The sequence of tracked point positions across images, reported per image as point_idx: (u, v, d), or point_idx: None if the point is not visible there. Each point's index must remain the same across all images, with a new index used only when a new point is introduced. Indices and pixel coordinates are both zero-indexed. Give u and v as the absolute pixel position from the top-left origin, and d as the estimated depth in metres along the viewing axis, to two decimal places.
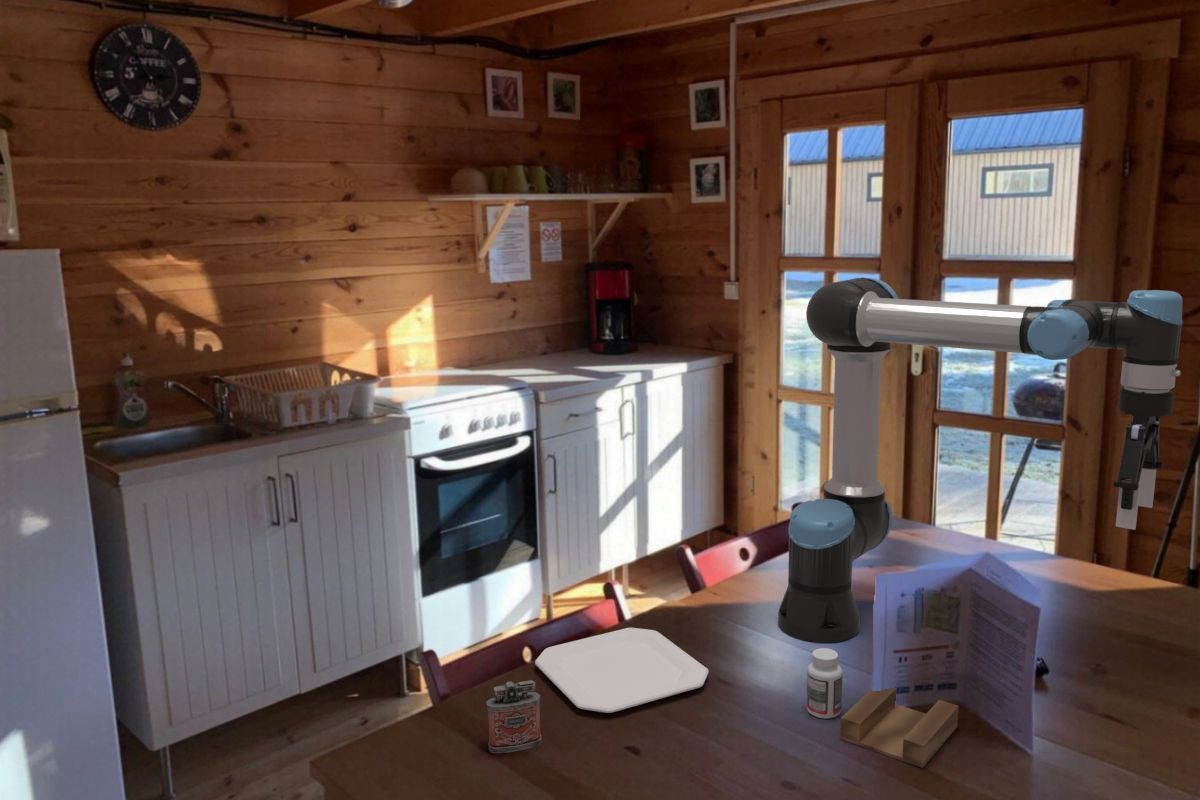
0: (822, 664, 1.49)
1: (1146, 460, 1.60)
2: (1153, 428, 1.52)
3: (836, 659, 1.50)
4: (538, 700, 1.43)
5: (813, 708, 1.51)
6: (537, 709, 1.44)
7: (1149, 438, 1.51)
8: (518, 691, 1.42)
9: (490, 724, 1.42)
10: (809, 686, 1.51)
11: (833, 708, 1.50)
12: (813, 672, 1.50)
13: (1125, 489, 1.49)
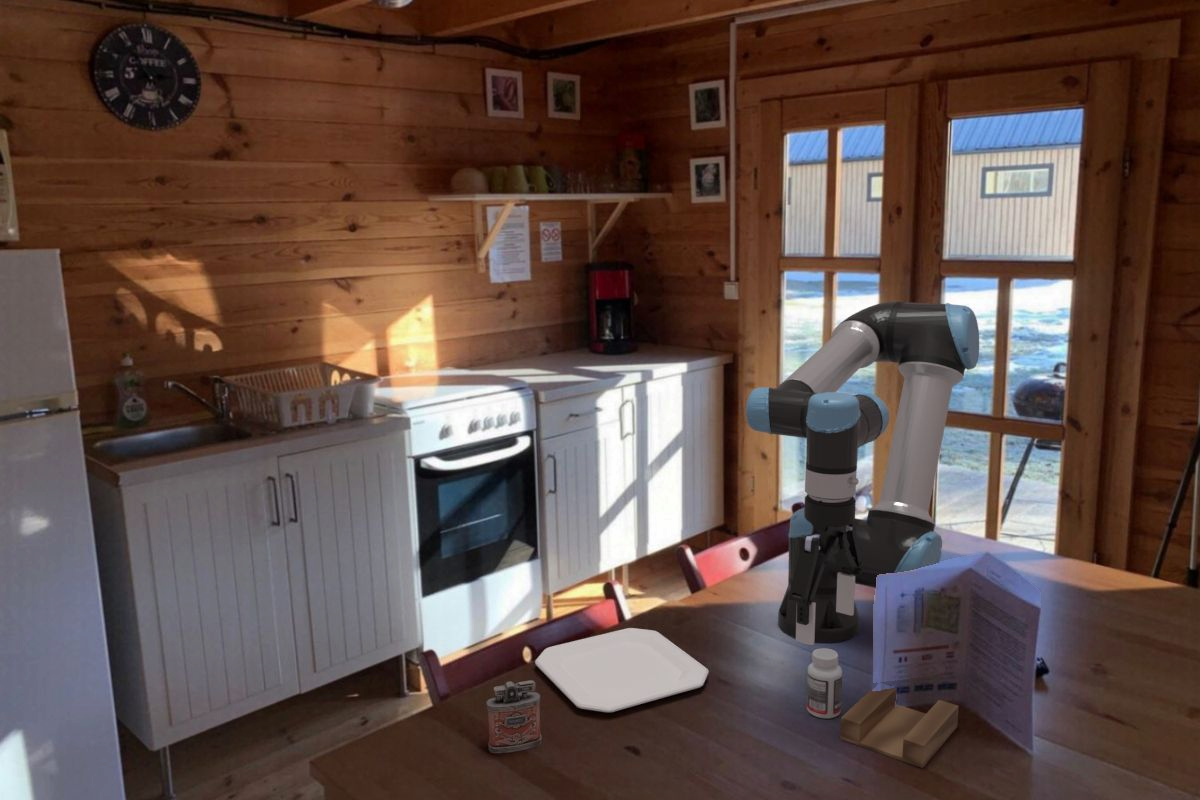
0: (822, 664, 1.49)
1: (844, 566, 1.53)
2: (834, 538, 1.45)
3: (836, 659, 1.50)
4: (538, 700, 1.43)
5: (813, 708, 1.51)
6: (537, 709, 1.44)
7: (828, 549, 1.44)
8: (518, 691, 1.42)
9: (490, 724, 1.42)
10: (809, 686, 1.51)
11: (833, 707, 1.50)
12: (813, 672, 1.50)
13: (799, 603, 1.42)
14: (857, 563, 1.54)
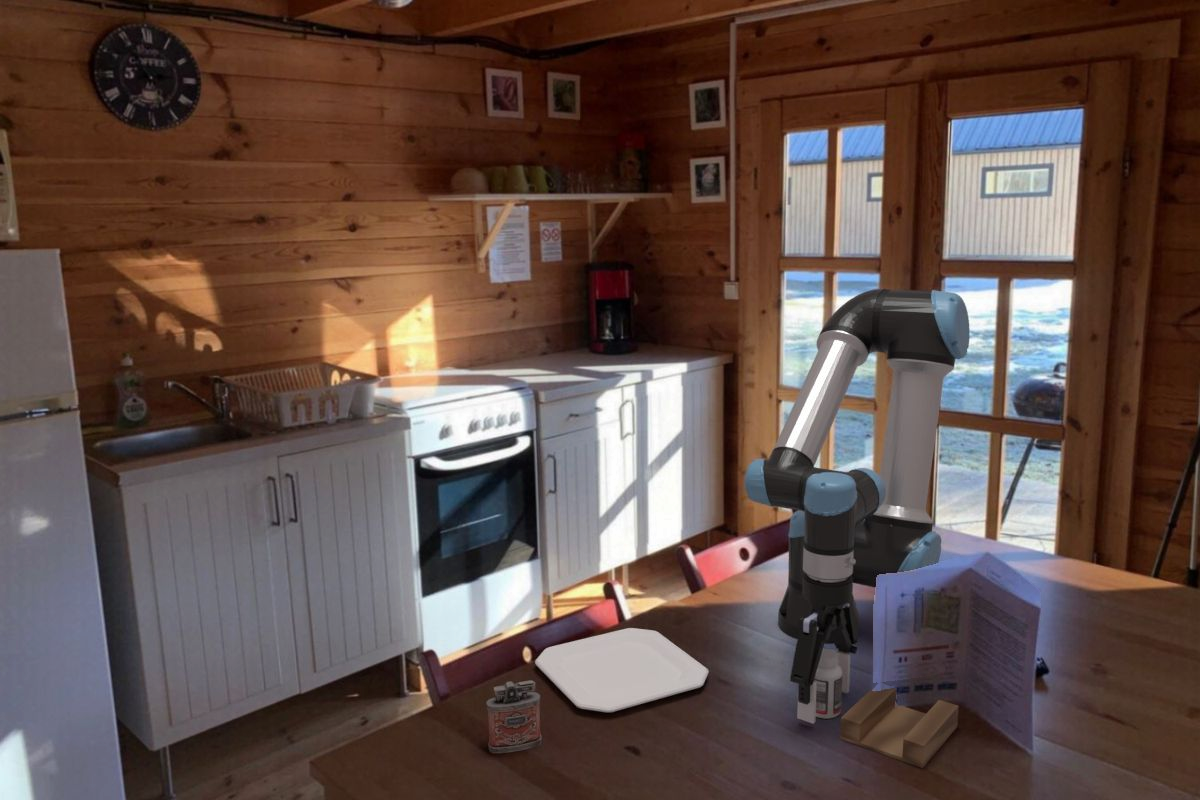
0: (822, 664, 1.49)
1: (840, 643, 1.55)
2: (831, 616, 1.47)
3: (836, 659, 1.50)
4: (538, 700, 1.43)
5: None
6: (537, 709, 1.44)
7: (827, 628, 1.47)
8: (518, 691, 1.42)
9: (490, 724, 1.42)
10: None
11: (834, 708, 1.50)
12: None
13: None
14: (852, 640, 1.56)
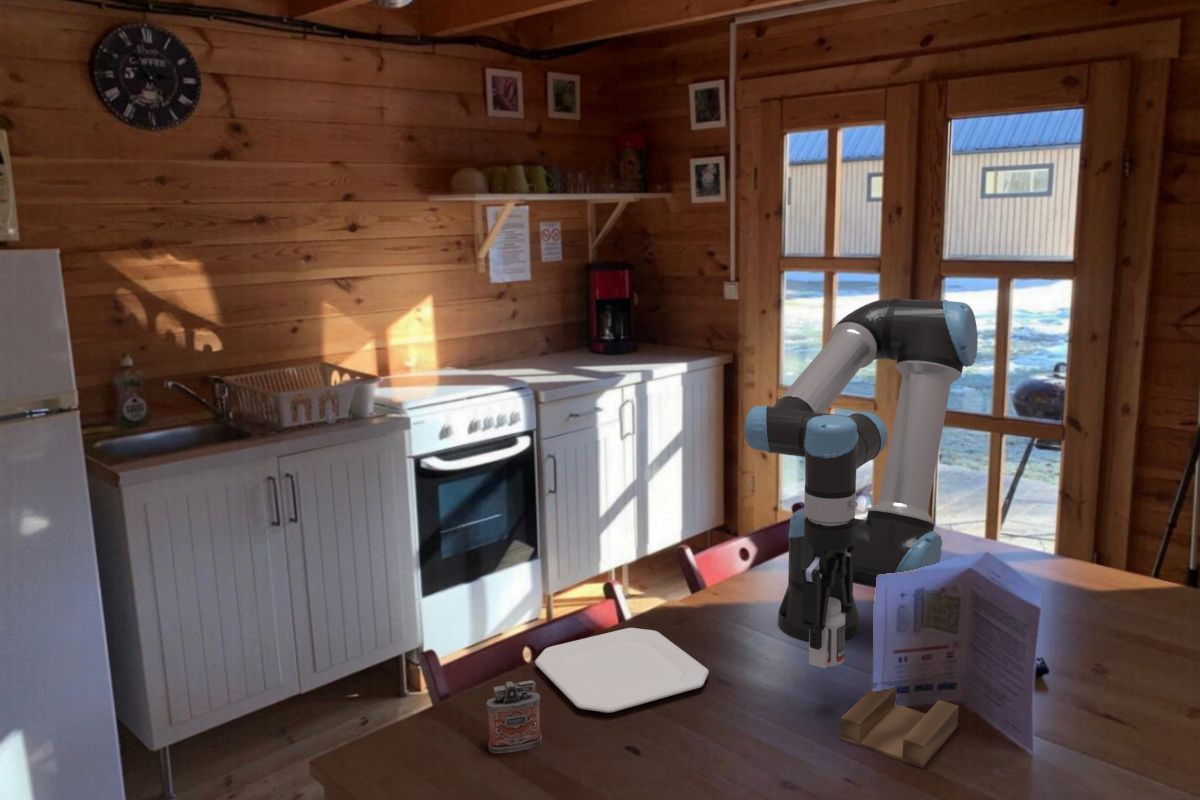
0: None
1: None
2: (833, 561, 1.45)
3: (839, 607, 1.48)
4: (538, 700, 1.43)
5: None
6: (537, 709, 1.44)
7: (830, 573, 1.45)
8: (518, 691, 1.42)
9: (490, 724, 1.42)
10: None
11: (837, 655, 1.49)
12: None
13: (812, 629, 1.47)
14: (848, 598, 1.53)
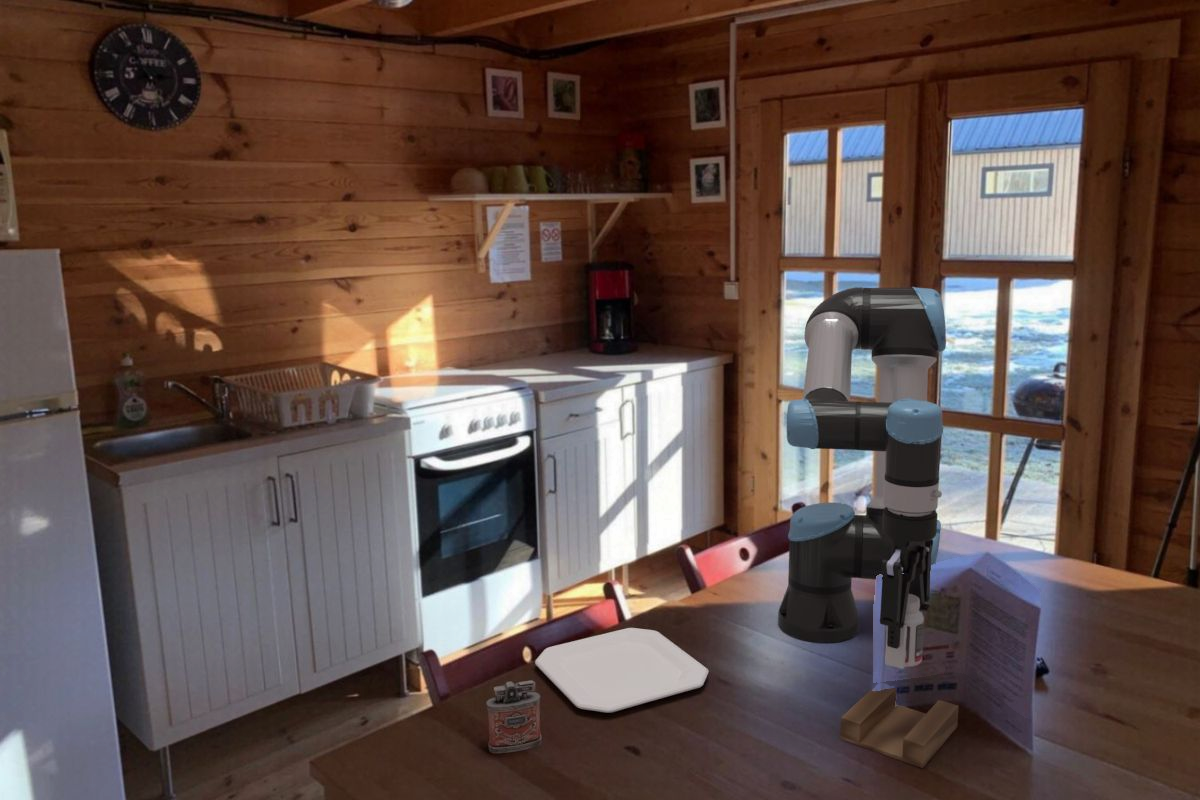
0: None
1: None
2: (914, 554, 1.38)
3: (918, 603, 1.40)
4: (538, 700, 1.43)
5: None
6: (537, 709, 1.44)
7: (911, 567, 1.38)
8: (518, 691, 1.42)
9: (490, 724, 1.42)
10: None
11: (915, 655, 1.41)
12: None
13: (890, 627, 1.39)
14: (924, 596, 1.45)
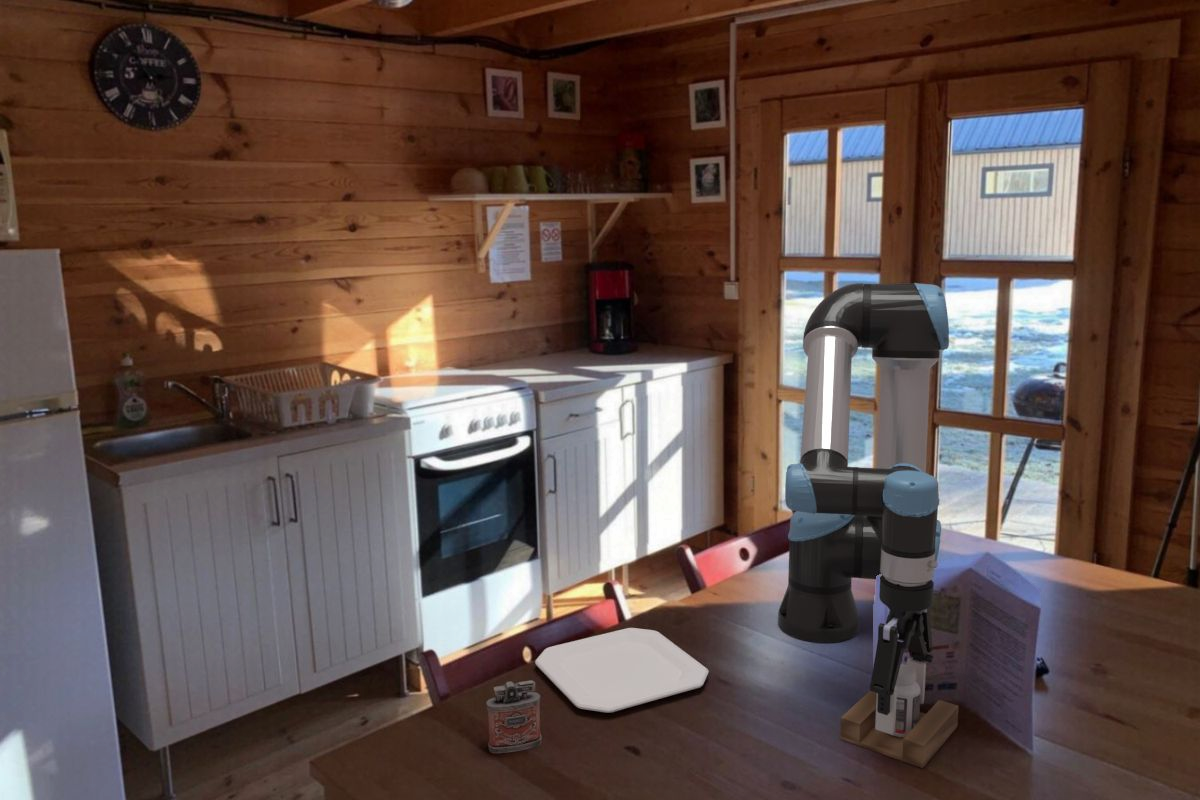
0: (900, 680, 1.43)
1: (915, 651, 1.48)
2: (911, 622, 1.40)
3: (914, 675, 1.43)
4: (538, 700, 1.43)
5: None
6: (537, 709, 1.44)
7: (907, 634, 1.40)
8: (518, 691, 1.42)
9: (490, 724, 1.42)
10: None
11: (912, 726, 1.43)
12: None
13: (880, 693, 1.39)
14: (927, 648, 1.49)
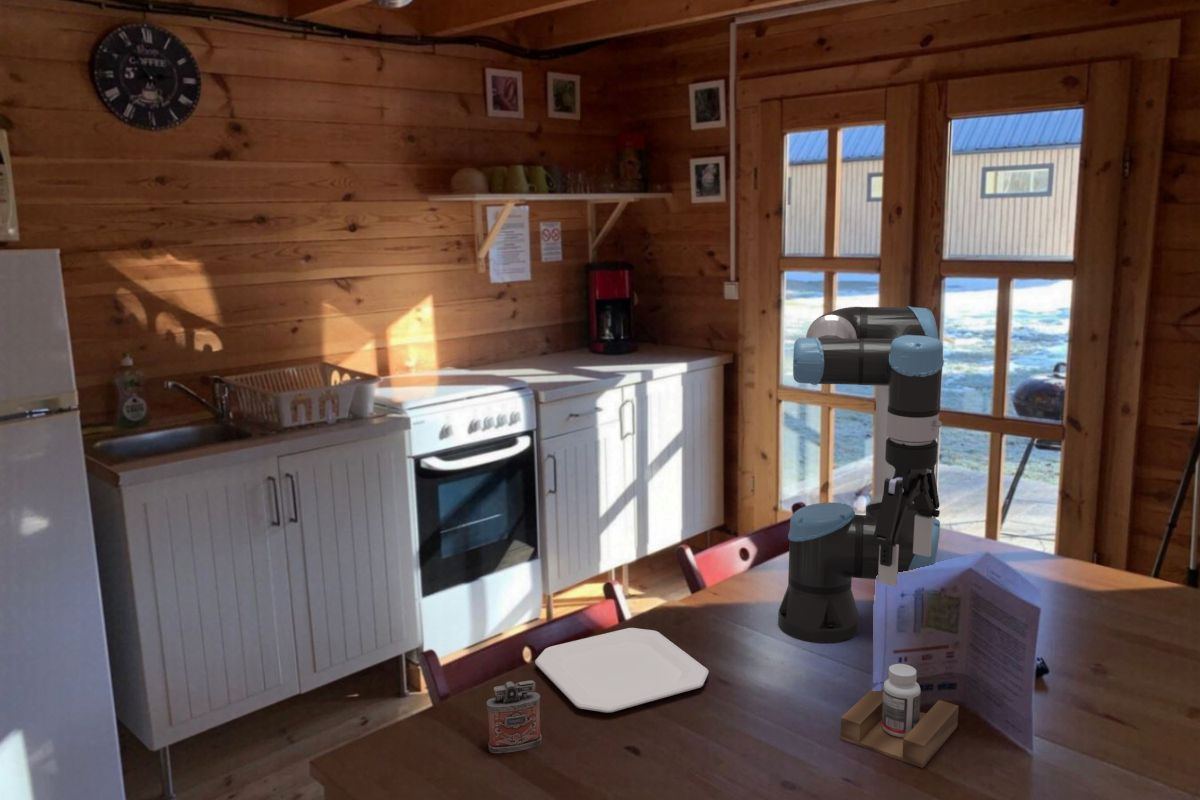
0: (901, 680, 1.42)
1: (922, 508, 1.54)
2: (916, 480, 1.45)
3: (915, 675, 1.43)
4: (538, 700, 1.43)
5: (891, 726, 1.44)
6: (537, 709, 1.44)
7: (911, 491, 1.45)
8: (518, 691, 1.42)
9: (490, 724, 1.42)
10: (886, 703, 1.44)
11: (912, 726, 1.43)
12: (891, 689, 1.43)
13: (883, 545, 1.44)
14: (934, 505, 1.55)
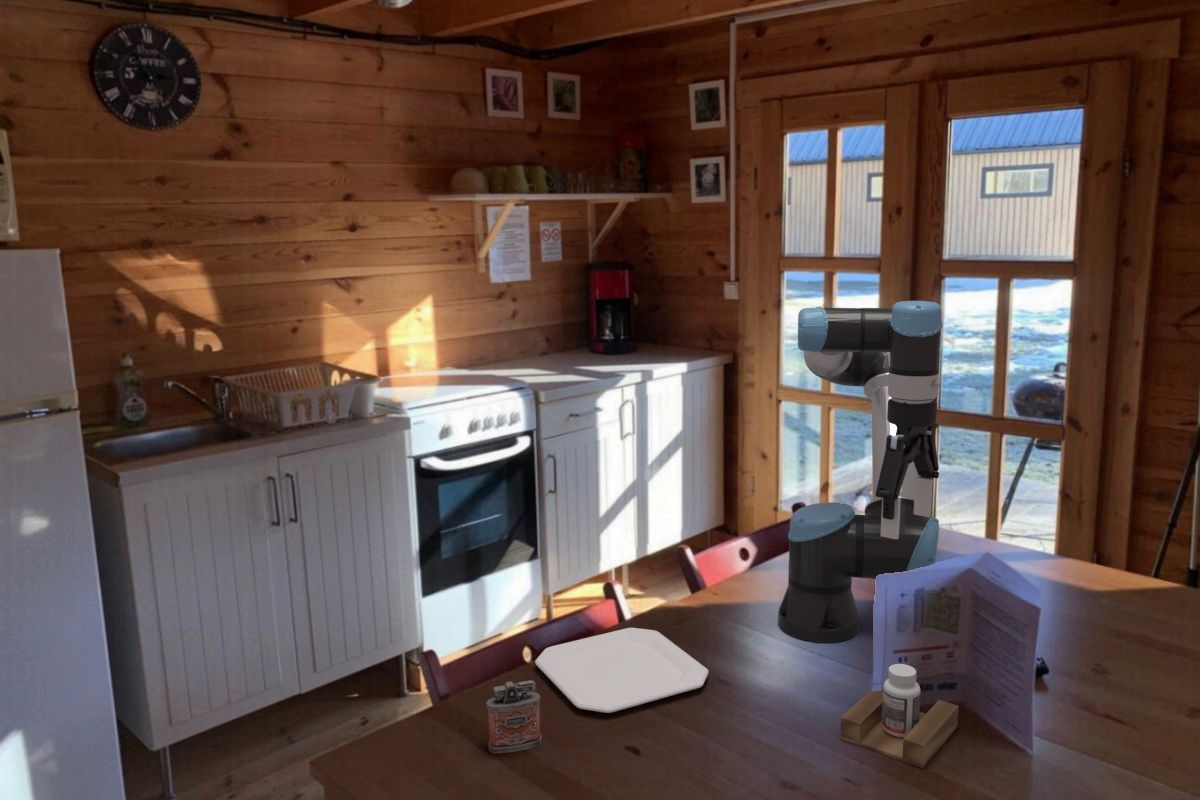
0: (900, 681, 1.42)
1: (922, 470, 1.61)
2: (917, 438, 1.53)
3: (915, 676, 1.43)
4: (538, 700, 1.43)
5: (891, 727, 1.44)
6: (537, 709, 1.44)
7: (912, 448, 1.52)
8: (518, 691, 1.42)
9: (490, 724, 1.42)
10: (886, 704, 1.44)
11: (912, 726, 1.43)
12: (890, 689, 1.43)
13: (885, 499, 1.50)
14: (934, 467, 1.62)
